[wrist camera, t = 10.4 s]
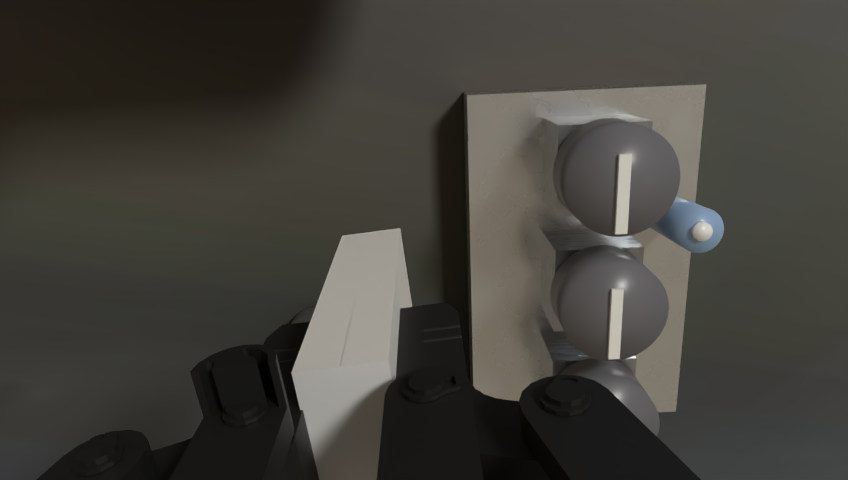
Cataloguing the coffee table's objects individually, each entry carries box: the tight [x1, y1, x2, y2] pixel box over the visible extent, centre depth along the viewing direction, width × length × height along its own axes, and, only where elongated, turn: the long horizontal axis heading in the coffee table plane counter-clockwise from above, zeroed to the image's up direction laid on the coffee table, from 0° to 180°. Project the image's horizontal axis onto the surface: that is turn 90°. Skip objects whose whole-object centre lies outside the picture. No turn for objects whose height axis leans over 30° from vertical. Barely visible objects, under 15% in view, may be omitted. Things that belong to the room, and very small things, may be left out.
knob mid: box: [550, 245, 669, 361], centre depth 35 cm, size 6×6×7 cm
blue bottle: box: [650, 196, 724, 253], centre depth 34 cm, size 2×2×6 cm
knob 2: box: [559, 358, 659, 436], centre depth 37 cm, size 6×6×7 cm
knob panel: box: [463, 82, 706, 412], centre depth 38 cm, size 22×14×7 cm, turn 2°
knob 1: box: [553, 118, 680, 237], centre depth 33 cm, size 6×6×7 cm
